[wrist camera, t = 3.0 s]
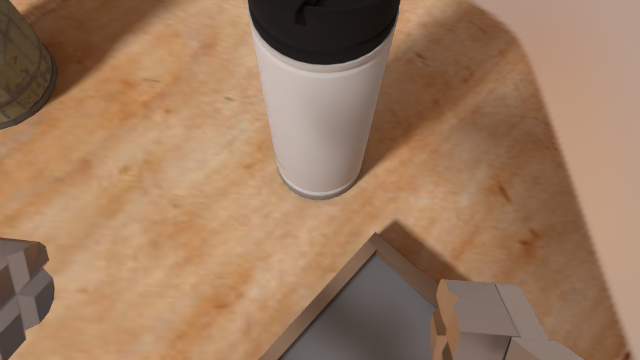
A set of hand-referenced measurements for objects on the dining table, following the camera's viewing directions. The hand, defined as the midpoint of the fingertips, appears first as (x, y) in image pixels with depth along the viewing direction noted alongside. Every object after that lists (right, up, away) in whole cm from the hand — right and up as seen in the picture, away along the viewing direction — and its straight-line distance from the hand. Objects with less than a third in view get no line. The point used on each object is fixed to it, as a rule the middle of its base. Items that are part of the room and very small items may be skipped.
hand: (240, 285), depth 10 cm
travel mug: (+1, +3, +25) cm, 26 cm away
